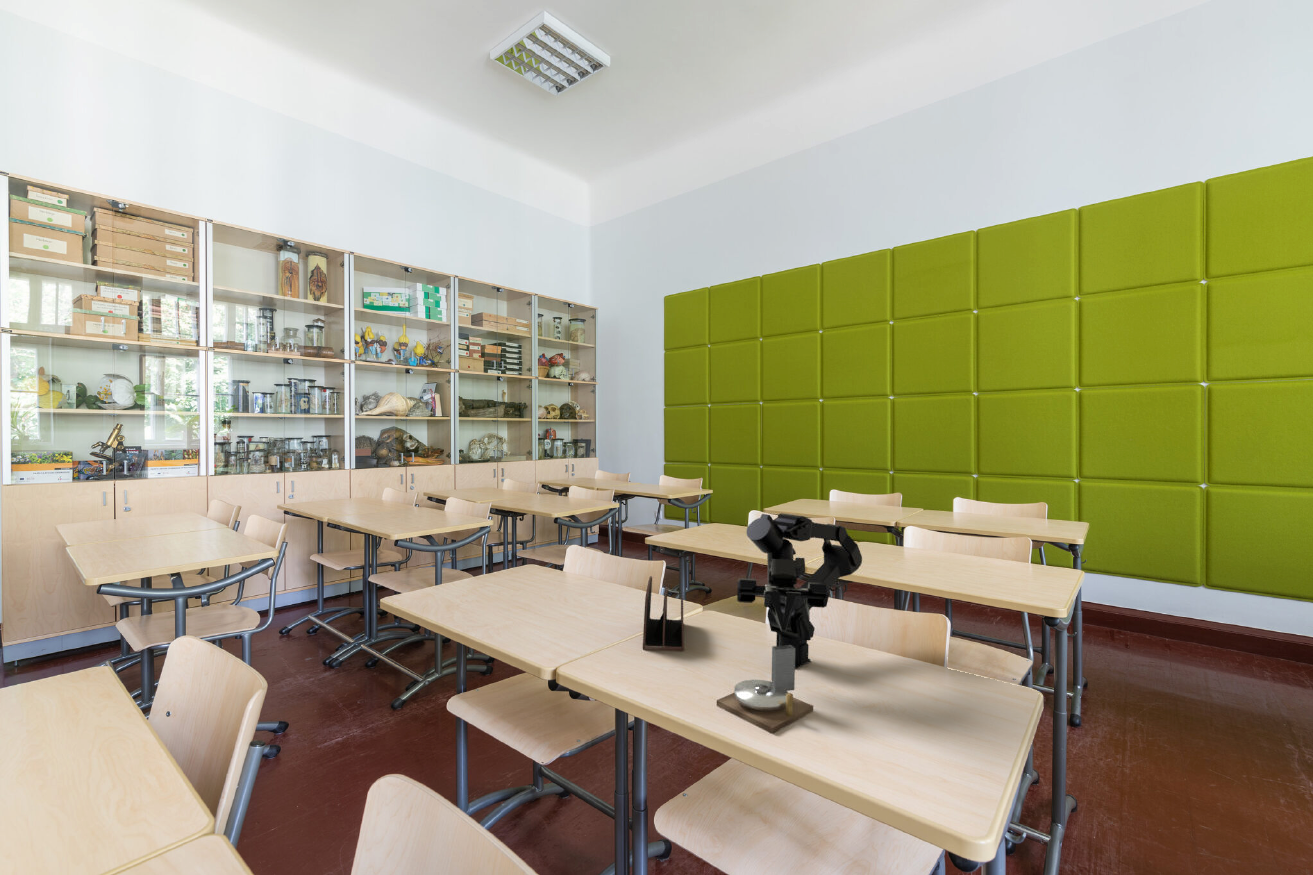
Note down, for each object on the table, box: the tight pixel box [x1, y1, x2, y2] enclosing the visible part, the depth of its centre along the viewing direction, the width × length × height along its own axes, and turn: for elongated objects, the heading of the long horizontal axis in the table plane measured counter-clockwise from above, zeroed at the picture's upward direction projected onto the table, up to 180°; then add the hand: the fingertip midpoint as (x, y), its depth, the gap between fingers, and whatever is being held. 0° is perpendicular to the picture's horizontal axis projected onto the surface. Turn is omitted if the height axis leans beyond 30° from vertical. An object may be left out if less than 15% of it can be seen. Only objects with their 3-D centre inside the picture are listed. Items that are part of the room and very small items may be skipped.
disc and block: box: [733, 645, 796, 711], centre depth 104 cm, size 12×10×9 cm
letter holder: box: [642, 575, 685, 652], centre depth 141 cm, size 10×20×14 cm, turn 177°
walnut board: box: [716, 692, 814, 734], centre depth 104 cm, size 13×13×5 cm
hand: (783, 630), depth 110 cm, fingers closed
